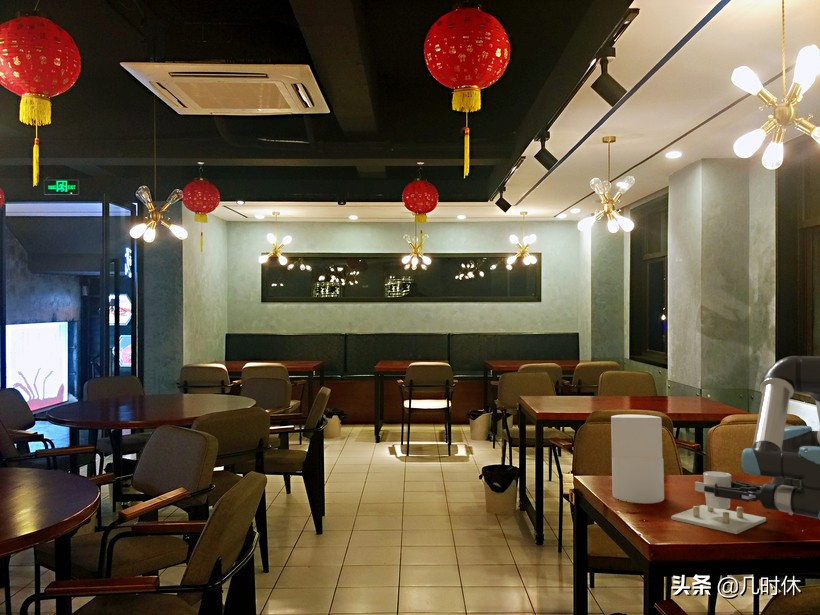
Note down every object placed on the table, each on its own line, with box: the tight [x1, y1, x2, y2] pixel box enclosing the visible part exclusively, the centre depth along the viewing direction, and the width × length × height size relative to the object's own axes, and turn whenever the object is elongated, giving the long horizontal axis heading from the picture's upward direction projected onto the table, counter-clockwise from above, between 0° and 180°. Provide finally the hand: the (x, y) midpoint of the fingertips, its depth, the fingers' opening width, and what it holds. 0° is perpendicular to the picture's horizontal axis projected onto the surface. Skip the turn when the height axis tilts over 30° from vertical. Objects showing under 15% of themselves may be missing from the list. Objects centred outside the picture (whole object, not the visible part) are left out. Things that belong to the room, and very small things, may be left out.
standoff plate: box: [670, 504, 767, 535], centre depth 204 cm, size 20×20×4 cm
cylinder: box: [610, 414, 665, 504], centre depth 233 cm, size 17×17×28 cm
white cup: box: [702, 470, 732, 510], centre depth 204 cm, size 8×8×10 cm
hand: (702, 484), depth 208 cm, fingers closed on white cup, 8 cm apart
